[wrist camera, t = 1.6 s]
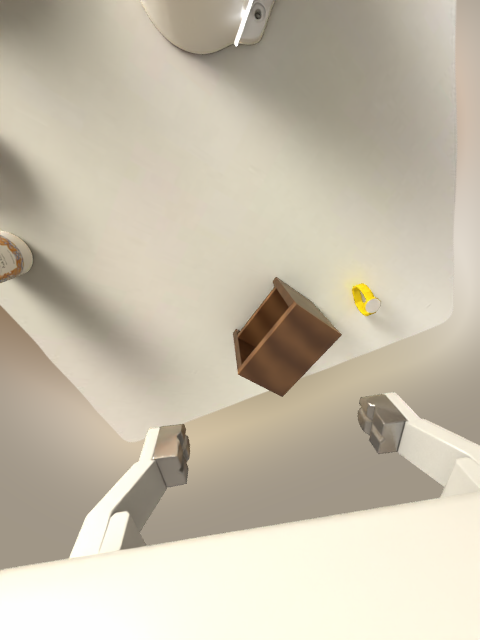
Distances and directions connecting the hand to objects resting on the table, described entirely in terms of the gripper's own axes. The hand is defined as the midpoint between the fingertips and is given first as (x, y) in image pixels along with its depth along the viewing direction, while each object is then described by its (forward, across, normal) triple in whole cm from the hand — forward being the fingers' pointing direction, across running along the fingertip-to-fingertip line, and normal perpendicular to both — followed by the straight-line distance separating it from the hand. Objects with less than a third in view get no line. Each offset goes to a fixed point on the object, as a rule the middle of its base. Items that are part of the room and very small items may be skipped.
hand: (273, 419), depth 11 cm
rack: (+36, -7, +13) cm, 38 cm away
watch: (+36, -23, +10) cm, 44 cm away
